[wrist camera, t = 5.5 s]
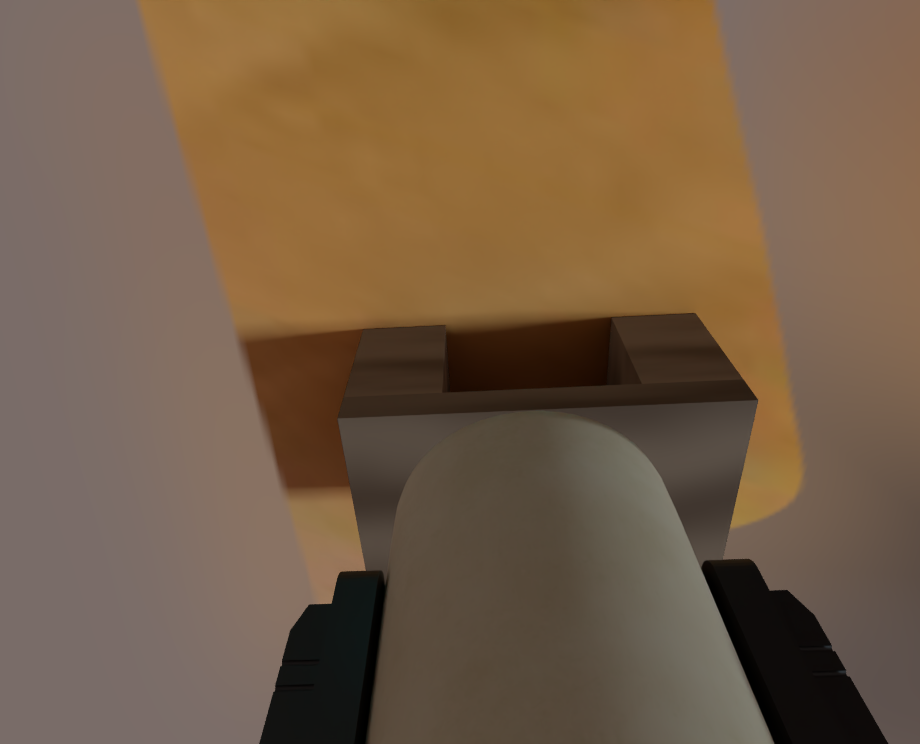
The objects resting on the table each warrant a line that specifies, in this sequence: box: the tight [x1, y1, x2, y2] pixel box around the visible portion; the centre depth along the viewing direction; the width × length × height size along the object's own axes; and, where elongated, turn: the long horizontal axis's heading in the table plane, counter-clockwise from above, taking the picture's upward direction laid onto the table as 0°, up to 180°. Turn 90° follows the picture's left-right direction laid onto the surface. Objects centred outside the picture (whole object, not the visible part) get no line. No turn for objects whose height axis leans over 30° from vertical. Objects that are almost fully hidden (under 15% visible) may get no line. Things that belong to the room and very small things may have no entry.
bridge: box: [337, 313, 758, 585], centre depth 30 cm, size 10×16×8 cm, turn 93°
